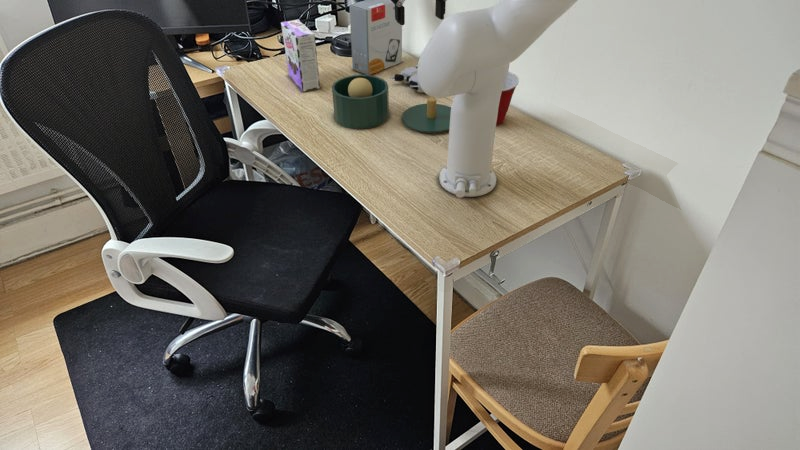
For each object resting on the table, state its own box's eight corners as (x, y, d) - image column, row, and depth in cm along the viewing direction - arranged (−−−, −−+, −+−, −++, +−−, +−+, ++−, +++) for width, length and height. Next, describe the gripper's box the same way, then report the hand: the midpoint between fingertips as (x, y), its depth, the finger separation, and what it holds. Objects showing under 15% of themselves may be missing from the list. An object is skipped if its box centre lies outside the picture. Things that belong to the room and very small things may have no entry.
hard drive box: (368, 76, 160) (365, 10, 147) (351, 70, 164) (347, 4, 151) (403, 62, 168) (402, -2, 156) (386, 56, 172) (384, -7, 160)
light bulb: (370, 120, 137) (368, 85, 130) (347, 118, 138) (344, 83, 131) (375, 109, 141) (374, 74, 135) (353, 107, 142) (351, 73, 136)
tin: (383, 130, 133) (382, 100, 128) (328, 126, 135) (325, 96, 130) (392, 105, 144) (392, 76, 139) (341, 102, 146) (339, 73, 141)
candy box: (287, 75, 161) (279, 21, 150) (305, 71, 163) (299, 18, 152) (302, 92, 151) (294, 36, 141) (321, 88, 153) (315, 32, 143)
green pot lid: (458, 137, 131) (460, 115, 127) (397, 132, 133) (397, 111, 129) (462, 108, 143) (463, 88, 139) (406, 105, 145) (406, 84, 141)
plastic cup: (463, 121, 137) (466, 78, 129) (488, 107, 143) (492, 66, 135) (496, 135, 131) (502, 91, 124) (521, 121, 137) (527, 77, 129)
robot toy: (387, 86, 156) (420, 99, 146) (386, 71, 153) (420, 84, 144) (418, 75, 162) (451, 87, 153) (417, 61, 159) (451, 72, 150)
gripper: (450, -71, 112) (447, 11, 122) (375, -65, 107) (378, 21, 117) (466, -66, 106) (461, 20, 117) (388, -58, 101) (390, 30, 112)
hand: (420, 20), depth 117 cm, fingers open, 9 cm apart
